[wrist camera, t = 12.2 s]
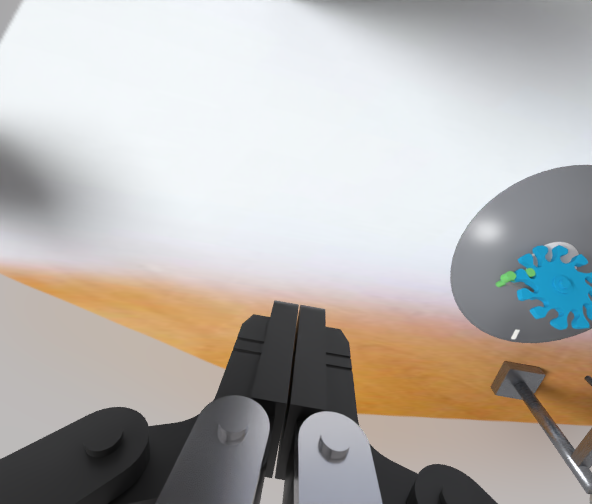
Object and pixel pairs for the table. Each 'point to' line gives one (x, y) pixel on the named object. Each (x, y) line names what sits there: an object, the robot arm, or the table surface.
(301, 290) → the table surface
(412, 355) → the table surface
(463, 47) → the table surface
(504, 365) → the indicator stand
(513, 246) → the turntable
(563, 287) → the gear
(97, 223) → the table surface
